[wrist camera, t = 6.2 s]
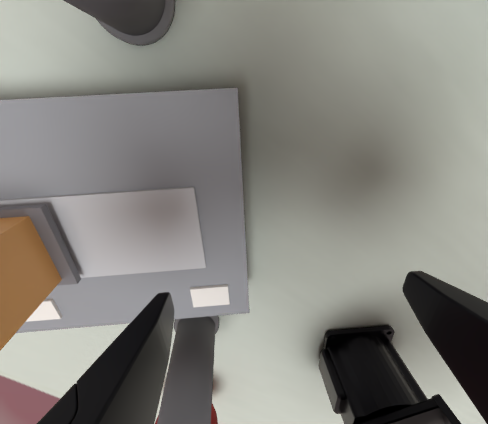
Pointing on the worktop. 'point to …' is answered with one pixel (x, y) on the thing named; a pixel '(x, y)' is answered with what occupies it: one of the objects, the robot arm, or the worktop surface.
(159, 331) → the robot arm
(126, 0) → the cable post
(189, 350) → the cable post
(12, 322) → the block
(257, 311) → the worktop surface
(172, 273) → the panel
